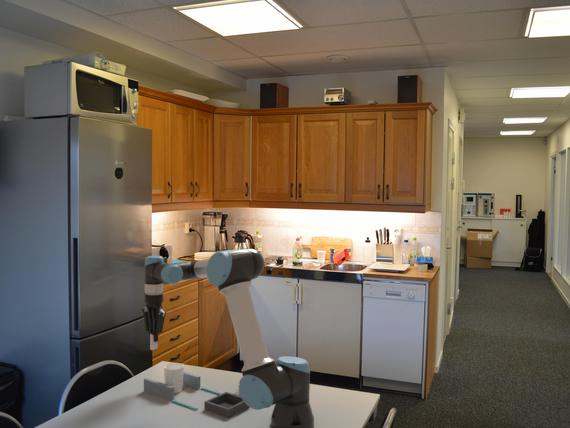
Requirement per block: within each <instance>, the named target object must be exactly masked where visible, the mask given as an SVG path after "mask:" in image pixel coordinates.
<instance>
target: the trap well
mask: <svg viewBox="0 0 570 428" xmlns="http://www.w3.org/2000/svg"><path fill="white" fill-rule="evenodd" d="M221 393H222V392H221ZM203 403H204V404H203V405H204V407H203V408H204V410H205V411H207V412H211V413H213V414H216V415H219V416H222V417H224V418H228V419H230V418H231V417H233V416H235V415H237V414H239V413H241V412H243V411H244V410H247V409H249V408H250V407H249V406H248V405H247V404H246V403H245V402H244V401H243V399H242V397H241V395H239V394H235V393H231V392H228V391H225V392H223V393H222V394H220V395H218V394H217V395H215V396H213V397H211V398H210V399H207V400H205V401H204V402H203Z"/></svg>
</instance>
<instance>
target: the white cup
mask: <svg viewBox="0 0 570 428" xmlns="http://www.w3.org/2000/svg"><path fill="white" fill-rule="evenodd" d="M184 368H185V365H184V364H183V363H179V362H170V363H167V364H165V365H164V366H163V372H164V373H163V374H164V384H167V385H170V386H173V387H174V394H177V393H181V392H182V391H183V389H184V387H183V386H184V385H183V374H184V372H185V370H184Z"/></svg>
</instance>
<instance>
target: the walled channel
mask: <svg viewBox="0 0 570 428" xmlns="http://www.w3.org/2000/svg"><path fill="white" fill-rule="evenodd" d="M183 386H186V387H190V388H192V389H195V390H199V389H201V376H200V375H197V374H194V373H190V372H187V371H184V374H183ZM143 392H144V393H148V394H151V395H152V396H153V395H154V396H157V397H159V398H162V399H165V400H168V401H171V402H172V400H175V399H174V398H175V396H174V394H175V393H174V387H173V386H170V385H167V384H165V382H164V383H163V382H162V381H161V382H160V381H157V380H155V379H151V378H149V377H145V378H143Z"/></svg>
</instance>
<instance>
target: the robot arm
mask: <svg viewBox="0 0 570 428" xmlns="http://www.w3.org/2000/svg"><path fill="white" fill-rule="evenodd" d="M143 266H144V293H145V294H144V303H145V304H146V305H145V306H144V307H142V308H141V311H142V314H143V320H144V327H145V331H146V332H148V334H149V344H150V345H149V350H151V351H153V350H156V349H158V347H159V346H158V343H159V334H161V333H163V328H164V325H165V317H166V315H167V311H165V310H163V306H162V304H163V302H164V294H163V293H164V283H166V284H169V285H171V284H172V285H176V284H178V283H180V282H182V281H188V280H196V279H208V281H209V283H210V284H211V285H213V286H214V287H217V289H218V292H219V293H220V294H221V295H223V296H224V297H225V300H226V301H225V302H226V305H227V308H228V311H229V315H230V319H231V323H232V326H233V329H234V333H235V336H236V340H237V344H238V347H239V350H240V353H241V357H242V361H243V367H242V369H241V374H242V377H241V378H240V380H239V382H238V383H239V384H238V391H239V392H238V393H239V396H241V397H242V399H243V401H244V402H245V403H246V404H247V405H248V406H249V408H250V409H253V410H255V411H260V410H263V409H268V408H270V407H271V406H274V408H273V410H272V414H271V416H270V425H271V427H272V428H314V426H315V416H314V414H313V411H312V407H311V404H310V389H311V388H310V384H311V383H310V382H311V369H310V363H309V361H308V360H307V359H304V358H301V357H297V356H289V355H288V356H287V355H286V356H279V357H277V358H276V361H275V359H273V358H272V357H271V356H269V353H268V349H267V346H266V343H265V339H264V336H263V333H262V332H263V331H262V330H261V326H260V322H259V318H258V316H257V312H256V309H255V305H254V302H253V298H252V295H251V292H250V287H251V284H252V280H255V279H257V278H258V277H260V276H261V274H263V271H264V269H265V258H264V257H263V255H262V254H261V253H260V251H258V250H257V249H253V248H238V249H237V248H235V249H224V250H221V251H216V252H214V253H213V254H212V255H211V256H210V257H209V258H206V259H196V260H189V261H183V262H182V261H181V262H173V263H172V262H171V263H168V262H164V257H163V256H162V255H149V256H146V257H145V259H144V265H143Z"/></svg>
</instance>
